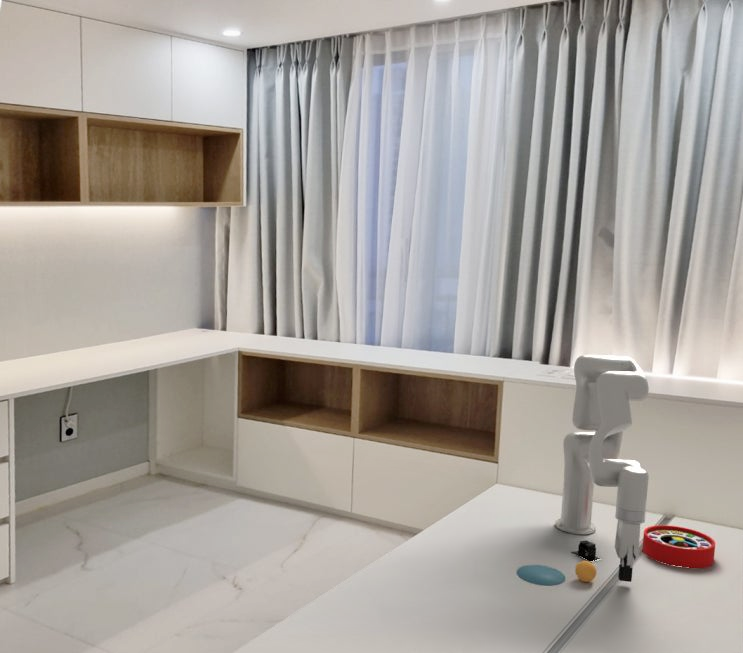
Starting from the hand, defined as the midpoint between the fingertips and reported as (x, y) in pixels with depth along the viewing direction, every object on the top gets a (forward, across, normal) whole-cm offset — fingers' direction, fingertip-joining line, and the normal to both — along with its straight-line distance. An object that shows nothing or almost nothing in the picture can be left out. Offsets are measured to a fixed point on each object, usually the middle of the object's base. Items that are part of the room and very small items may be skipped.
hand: (624, 579), depth 210 cm
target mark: (+2, 0, -22) cm, 22 cm away
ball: (-1, 0, -10) cm, 10 cm away
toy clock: (+2, -28, +19) cm, 34 cm away
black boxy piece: (+2, -18, -8) cm, 20 cm away
